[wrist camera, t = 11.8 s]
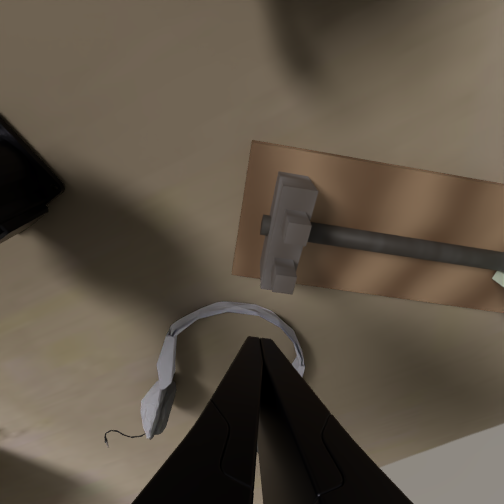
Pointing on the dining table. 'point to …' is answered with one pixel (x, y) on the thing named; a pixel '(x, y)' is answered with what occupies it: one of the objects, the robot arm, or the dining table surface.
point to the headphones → (164, 389)
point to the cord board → (369, 228)
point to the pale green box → (499, 277)
